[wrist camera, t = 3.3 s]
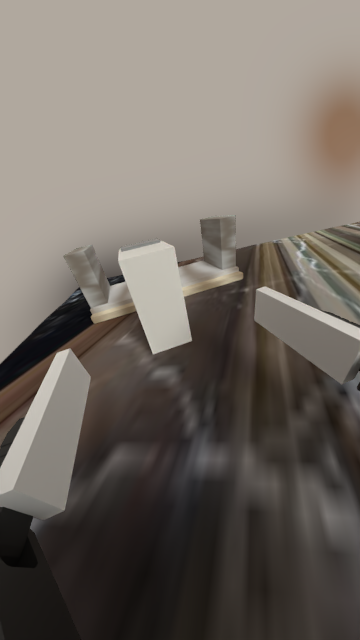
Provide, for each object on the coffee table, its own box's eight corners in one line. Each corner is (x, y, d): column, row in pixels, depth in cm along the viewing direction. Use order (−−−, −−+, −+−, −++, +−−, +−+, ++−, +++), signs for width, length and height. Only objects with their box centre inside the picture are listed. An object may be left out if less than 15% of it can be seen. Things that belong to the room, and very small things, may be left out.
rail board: (211, 264, 45) (207, 217, 39) (242, 278, 34) (244, 214, 28) (101, 295, 41) (79, 247, 35) (94, 323, 29) (58, 259, 23)
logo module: (176, 314, 27) (158, 237, 21) (192, 340, 21) (173, 243, 15) (145, 324, 26) (118, 247, 20) (153, 354, 20) (116, 257, 14)
